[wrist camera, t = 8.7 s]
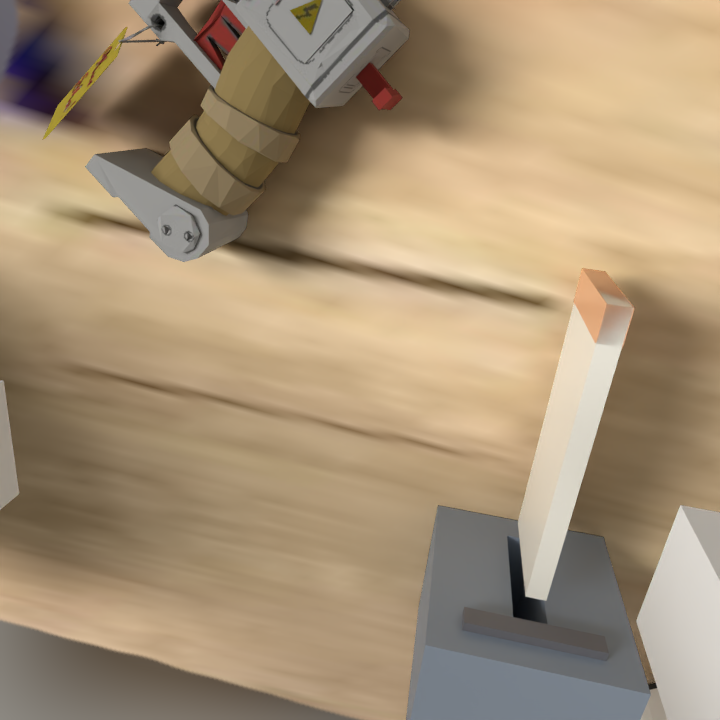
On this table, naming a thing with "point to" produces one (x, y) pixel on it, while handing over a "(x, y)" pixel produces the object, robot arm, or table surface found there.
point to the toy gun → (242, 107)
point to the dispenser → (520, 631)
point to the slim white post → (571, 424)
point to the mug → (654, 706)
